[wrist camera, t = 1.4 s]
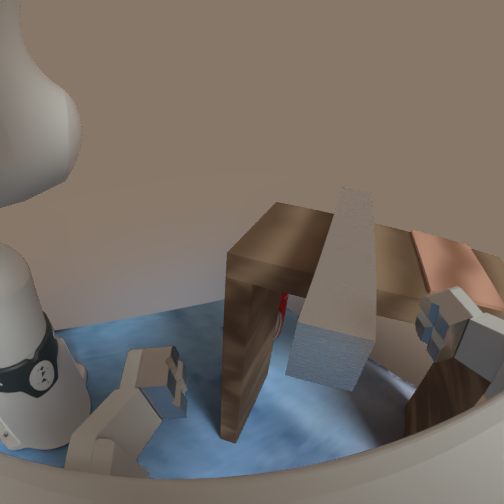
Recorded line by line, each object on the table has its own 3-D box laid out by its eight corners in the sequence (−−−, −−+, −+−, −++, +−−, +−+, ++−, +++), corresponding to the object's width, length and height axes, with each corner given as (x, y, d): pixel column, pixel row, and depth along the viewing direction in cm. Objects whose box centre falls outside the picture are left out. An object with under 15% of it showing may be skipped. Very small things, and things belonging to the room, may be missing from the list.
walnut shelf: (220, 438, 34) (227, 249, 22) (254, 370, 45) (276, 199, 33) (414, 480, 27) (546, 324, 15) (416, 407, 38) (499, 254, 26)
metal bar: (285, 374, 13) (297, 321, 11) (337, 214, 31) (342, 186, 30) (352, 391, 12) (375, 340, 10) (365, 221, 31) (371, 193, 29)
